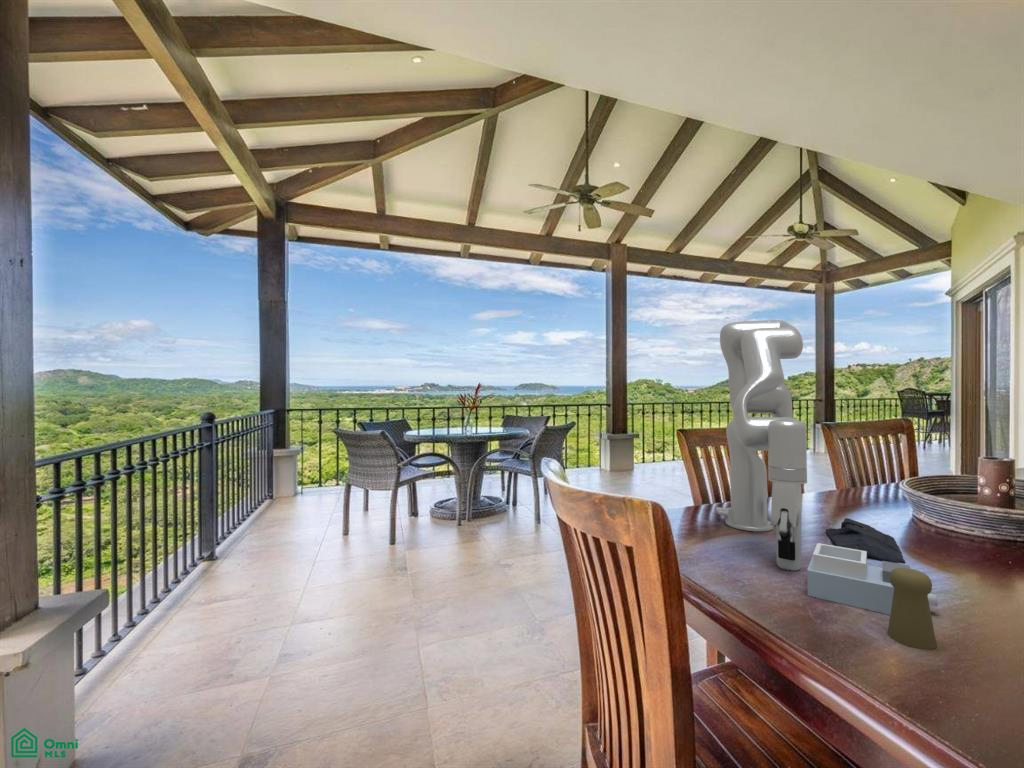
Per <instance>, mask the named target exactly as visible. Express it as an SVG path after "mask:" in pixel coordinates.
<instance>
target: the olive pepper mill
mask: <svg viewBox="0 0 1024 768" xmlns="http://www.w3.org/2000/svg"><path fill="white" fill-rule="evenodd" d="M890 582H891V585H892V586H893V587H894V594H893V600H892V607H891V613H890V615H889V619H888V620H889V621H888V628H887V635H888V636H890V637H889V638H890V639H892V640H893V639H894V640H893V641H895V642H897V643H899V644H901V643H902V644H901V645H905V646H906V645H907V646H906V647H910V648H914V649H918V650H934V649H936V648H937V647H938V646H937V645H938V644H937V639H936V634H935V629H934V623H933V618H932V612H931V607H930V606H931V605H929V601H928V594H929V593H931V594H932V590H933V583H932V579H931V577H929V575H927V574H926V573H924V572H922V571H920V570H917V569H913V568H910V569H909V568H895V569H893V570H892V571H891V573H890Z"/></svg>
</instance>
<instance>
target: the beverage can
mask: <svg viewBox="0 0 1024 768" xmlns="http://www.w3.org/2000/svg"><path fill="white" fill-rule="evenodd" d="M801 521H802V518H801V519H799V522H798V526H797V528H795V529H794V541H793V542H795V560H794V561H792V560H787V559H782V558H779V557H778V539H779V522H778V524H777V525H775V536H776V537H775V541H776V542H775V544H776V545H775V546H776V547H775V550H776V565H777V566H778V567H779V568H781V569H783V570H785V569H786V571H789V570H791V571H790V572H797V571H799V570H800V569H801V568H802V522H801ZM787 527H790V528H791V525H788V526H787ZM788 532H789V533H790V530H788Z"/></svg>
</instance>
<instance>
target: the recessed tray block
mask: <svg viewBox="0 0 1024 768" xmlns="http://www.w3.org/2000/svg"><path fill="white" fill-rule="evenodd" d="M881 561H882V564H881V565H882V567H879V566H875V565H869V564H868V557H867V551H862V550H856V549H850V548H844V547H838V546H837V545H831V544H825V543H820V542H818V543H816V546H815V547H814V550H813V553H812V556H811V559H810V562H809V564H808V567H807V569H806V572H807V576H806V578H807V585H806V586H807V596H808V597H811V596H812V597H811V598H815V597H816V599H819V600H820V599H821V600H825V601H829V602H834V603H839V604H842V605H847V606H851V607H855V608H859V609H864V610H867V609H868V611H873V612H877V613H882V614H885V615H888V616H890V613H891V607H892V600H893V594H894V587H893V586H892V585H891V582H890V573H891V571H892V570H893V569H895V568H909V569H911V565H909V564H905V563H896V562H889V561H884V560H881ZM928 601H929V606H932V607H938V606H939V605H938V595H937V594H936V593H935V594H934V593H932V592H931V593H929V594H928Z"/></svg>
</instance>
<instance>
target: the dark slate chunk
mask: <svg viewBox="0 0 1024 768" xmlns="http://www.w3.org/2000/svg"><path fill="white" fill-rule="evenodd" d="M840 524H841V526H840V528H825V531H826V533H827V535H828V537H829V538H830V540H831V541H832V542H833V543H834V544H835V546H838V547H844V548H850V549H856V550H862V551H867V558H870V559H871V558H872V559H874V560H875V559H876V560H881V561H887V562H892V563H898V564H906V560H905V559H904V556H903V553H902V550H901V549H900V546H899V545H898V544H897V541H896V539H895V537H893V536H892V535H890V534H887V533H884V532H881V531H879V530H877V529H876V528H875V527H872V526H871V525H868V524H866V523H863V522H860V521H858V520H854V519H852V518H846V517H845V518H844V519H843V521H842V522H841V523H840Z"/></svg>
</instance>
